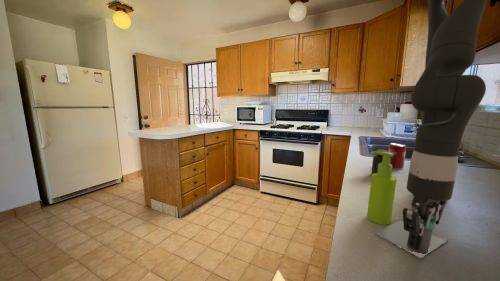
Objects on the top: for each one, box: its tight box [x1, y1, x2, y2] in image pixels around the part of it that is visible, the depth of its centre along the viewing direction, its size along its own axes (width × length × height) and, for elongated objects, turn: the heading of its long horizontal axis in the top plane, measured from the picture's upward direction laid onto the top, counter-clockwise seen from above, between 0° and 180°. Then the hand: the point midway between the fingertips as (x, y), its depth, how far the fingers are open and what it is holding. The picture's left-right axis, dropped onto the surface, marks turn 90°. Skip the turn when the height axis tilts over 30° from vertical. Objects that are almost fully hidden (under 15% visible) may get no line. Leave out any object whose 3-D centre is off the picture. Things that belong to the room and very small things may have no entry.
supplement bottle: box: [370, 149, 389, 175], centre depth 96 cm, size 7×7×12 cm
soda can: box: [388, 142, 407, 170], centre depth 108 cm, size 7×7×12 cm
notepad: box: [375, 218, 449, 252], centre depth 53 cm, size 13×10×1 cm
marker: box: [407, 218, 435, 254], centre depth 47 cm, size 4×4×7 cm
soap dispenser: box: [366, 150, 398, 226], centre depth 60 cm, size 6×7×20 cm
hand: (418, 244), depth 48 cm, fingers closed on marker, 3 cm apart
